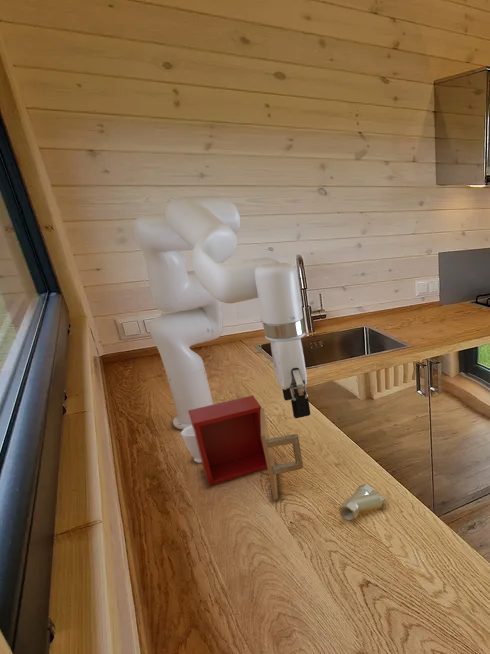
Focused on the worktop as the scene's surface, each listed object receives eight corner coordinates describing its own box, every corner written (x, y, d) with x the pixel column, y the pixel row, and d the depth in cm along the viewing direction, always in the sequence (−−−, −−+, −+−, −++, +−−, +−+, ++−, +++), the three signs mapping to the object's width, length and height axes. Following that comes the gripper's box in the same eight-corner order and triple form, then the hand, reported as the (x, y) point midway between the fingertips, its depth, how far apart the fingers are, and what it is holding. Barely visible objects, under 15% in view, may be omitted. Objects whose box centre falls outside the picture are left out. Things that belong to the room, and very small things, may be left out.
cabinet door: (302, 461, 119) (292, 403, 113) (307, 492, 107) (296, 429, 101) (272, 467, 117) (260, 408, 111) (273, 500, 105) (260, 436, 99)
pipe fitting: (388, 504, 104) (360, 496, 105) (388, 489, 102) (359, 481, 104) (369, 527, 97) (339, 519, 98) (369, 512, 95) (339, 503, 97)
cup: (189, 468, 117) (180, 439, 114) (186, 450, 125) (178, 422, 122) (220, 460, 121) (213, 431, 117) (216, 443, 128) (209, 415, 125)
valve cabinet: (273, 466, 117) (261, 406, 111) (209, 486, 110) (193, 423, 104) (264, 452, 123) (253, 395, 117) (204, 470, 116) (188, 410, 110)
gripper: (257, 320, 100) (271, 396, 107) (272, 343, 87) (286, 428, 93) (294, 315, 104) (305, 389, 111) (314, 337, 90) (325, 419, 97)
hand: (297, 407), depth 102 cm, fingers open, 9 cm apart
